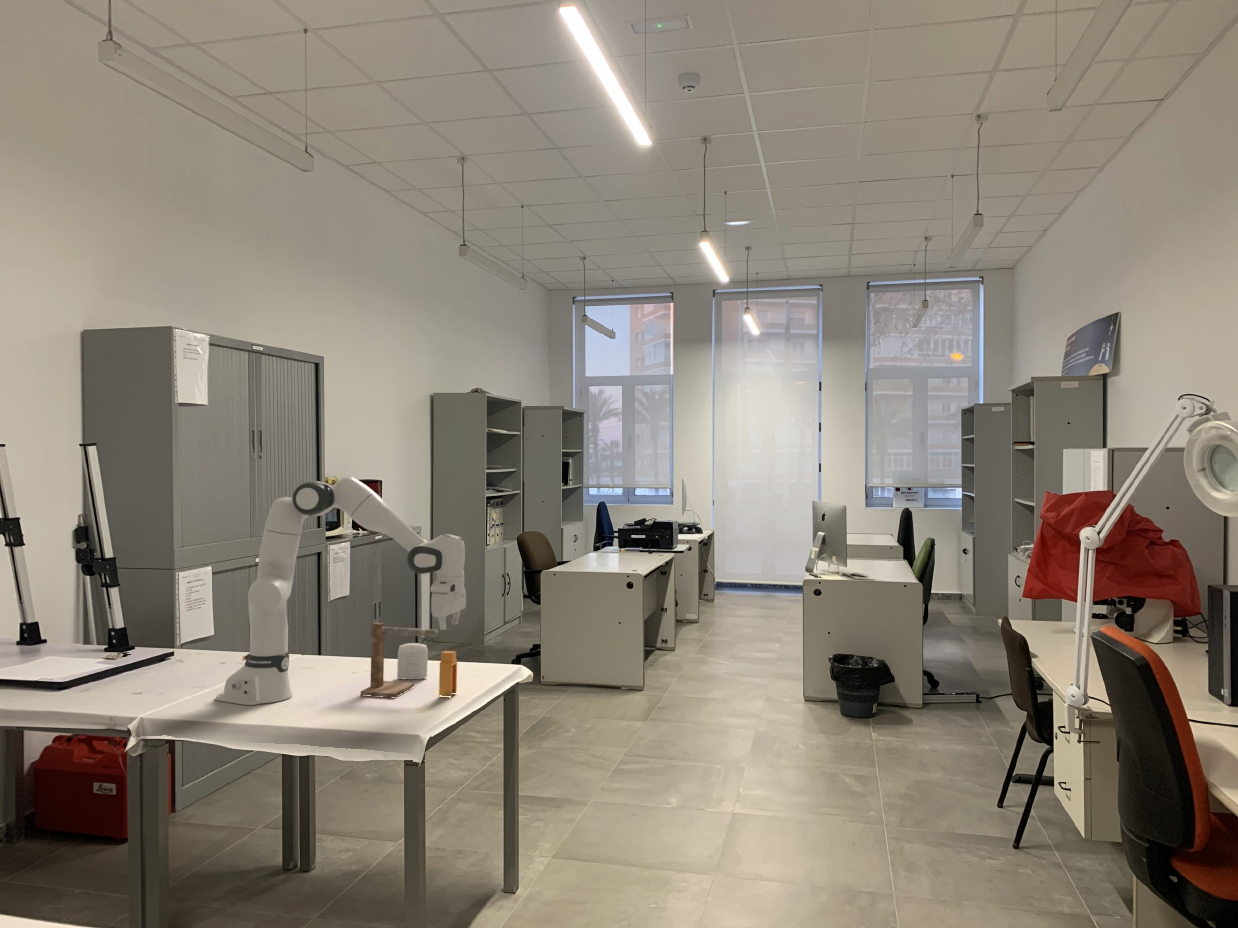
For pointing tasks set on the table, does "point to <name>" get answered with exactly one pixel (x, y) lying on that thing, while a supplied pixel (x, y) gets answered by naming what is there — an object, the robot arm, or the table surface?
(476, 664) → the table surface
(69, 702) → the table surface
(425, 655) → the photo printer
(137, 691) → the table surface
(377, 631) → the stand
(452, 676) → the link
